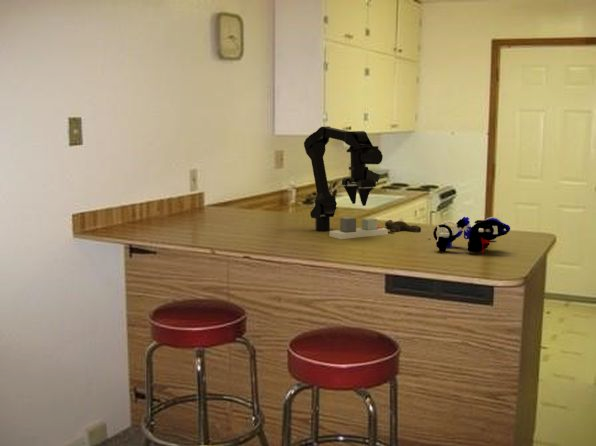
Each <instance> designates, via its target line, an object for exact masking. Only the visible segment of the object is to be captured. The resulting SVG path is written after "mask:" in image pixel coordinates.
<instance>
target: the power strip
mask: <svg viewBox="0 0 596 446" xmlns="http://www.w3.org/2000/svg"><path fill="white" fill-rule="evenodd" d="M388 229H389V228H386V227H385V228H384V227H383V226H382V225H377V230H368V231H367V230H363V229H362V227H356V232H348V233H345V232H341V231H340V229H337V230H336V229H335V230H334V229H333V230H330V231H329V237H331V238H335V239H338V240H346V239H355V238H364V237H376V236H384V235H389V234H388V232H389V231H388Z"/></svg>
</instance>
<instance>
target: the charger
mask: <svg viewBox="0 0 596 446" xmlns="http://www.w3.org/2000/svg"><path fill="white" fill-rule="evenodd" d="M339 224H340V225H339V227H340V229H339V230H340V231H341V232H345V233H348V232H356V228H357V218H355V217H353V216H341V218H340V219H339Z"/></svg>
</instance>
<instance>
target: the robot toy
mask: <svg viewBox="0 0 596 446" xmlns="http://www.w3.org/2000/svg"><path fill="white" fill-rule="evenodd" d="M448 224H451V225H452V226H453V228H452V227H450V226H449V225H448ZM509 232H511V226H510V224H506V223H504V222H503V221H501V220H500V218H498V217H495V216H490V217H487V218H486V219H485V220H484V219H477V220H475V221H474V225H472V224H471V223H470V218H469V217H468V216H466V217H465V216H463V217H462V218H459V220H458V221H457V222H455V221H452V220H446V221H443V222H442V223H440V224H438V225H437V226H436V227H435V228H434V229H433V232H432V234H433V238H434V239H435V241H436V242H435V247H436V248H437V249H438V252H439V253H445V252H447V249H450V248H451V247H452V246H453V243H454V241H456V239H457V238H459V237H461V236H462V235H463V238H464V239H465V240H468V241H467V251H468V252H470V253H483V252H484V251H485V250H486V249H488V247H489V246H490V243H497V240H496V238H499V237H501V236H506V235H508V233H509ZM437 235H438V236H437Z"/></svg>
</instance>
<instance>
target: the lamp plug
mask: <svg viewBox="0 0 596 446" xmlns="http://www.w3.org/2000/svg"><path fill="white" fill-rule="evenodd" d="M377 226H378V218H373V217H366V218H361V228H362V229H363V230H367V231H368V230H377Z"/></svg>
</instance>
